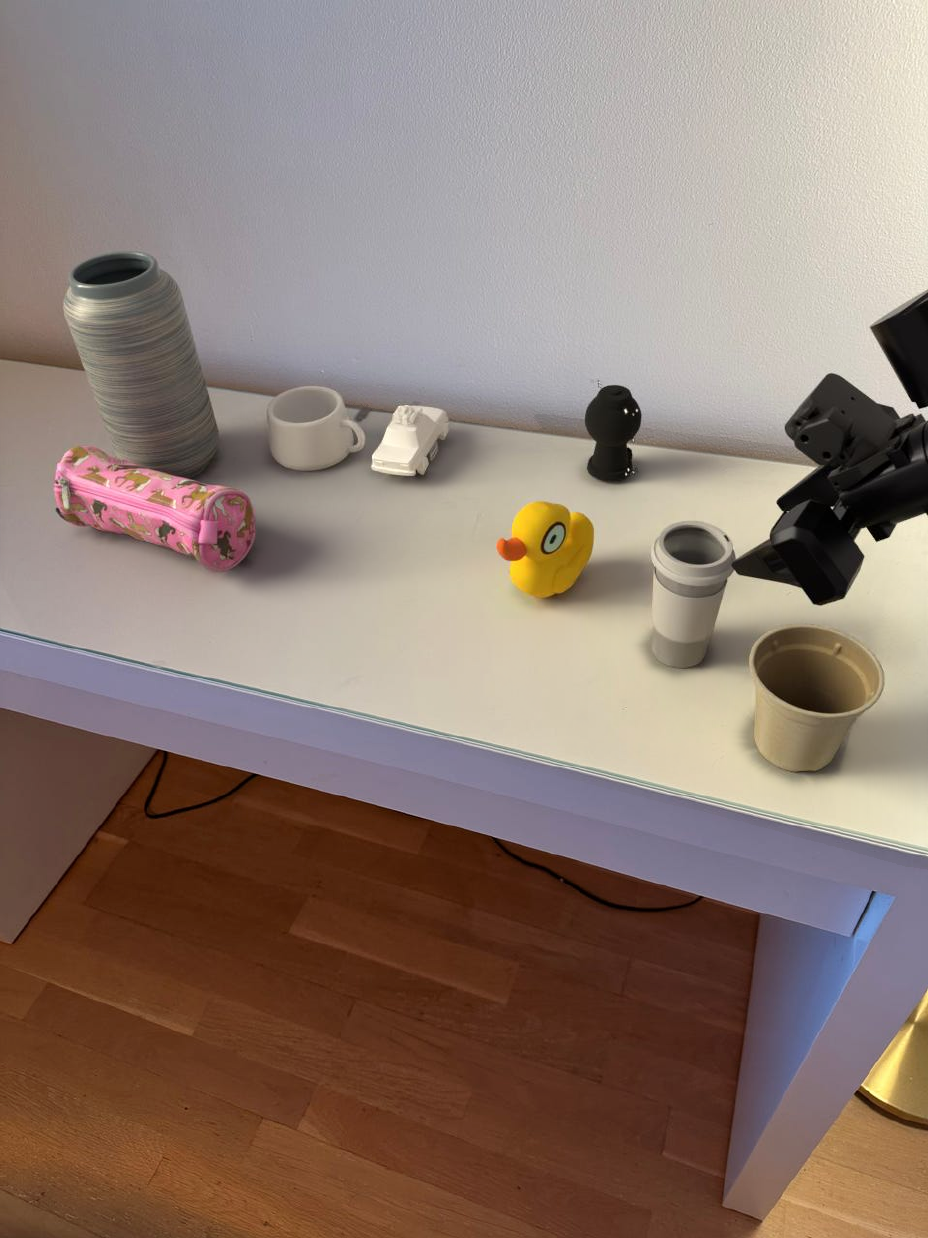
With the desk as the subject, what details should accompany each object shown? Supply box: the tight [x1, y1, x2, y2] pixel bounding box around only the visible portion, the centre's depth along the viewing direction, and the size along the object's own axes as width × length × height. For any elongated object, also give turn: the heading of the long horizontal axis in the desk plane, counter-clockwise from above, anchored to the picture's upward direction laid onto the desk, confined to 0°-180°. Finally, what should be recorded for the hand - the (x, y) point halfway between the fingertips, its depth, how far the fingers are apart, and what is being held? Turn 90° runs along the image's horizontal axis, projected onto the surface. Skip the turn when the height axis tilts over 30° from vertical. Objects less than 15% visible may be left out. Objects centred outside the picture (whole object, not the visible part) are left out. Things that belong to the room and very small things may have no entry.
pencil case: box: [53, 445, 257, 573], centre depth 94 cm, size 21×9×9 cm, turn 63°
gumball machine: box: [584, 379, 643, 482], centre depth 98 cm, size 7×6×10 cm
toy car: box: [370, 404, 450, 477], centre depth 103 cm, size 6×12×7 cm, turn 162°
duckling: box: [496, 500, 595, 599], centre depth 85 cm, size 11×5×10 cm, turn 131°
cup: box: [650, 520, 737, 669], centre depth 78 cm, size 7×7×12 cm
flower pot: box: [748, 623, 885, 773], centre depth 71 cm, size 9×9×9 cm
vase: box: [62, 250, 220, 479], centre depth 100 cm, size 12×12×23 cm
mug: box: [265, 385, 366, 472], centre depth 106 cm, size 12×10×6 cm
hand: (758, 536), depth 73 cm, fingers open, 9 cm apart
